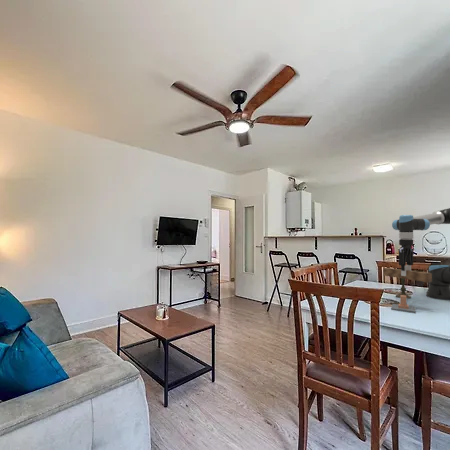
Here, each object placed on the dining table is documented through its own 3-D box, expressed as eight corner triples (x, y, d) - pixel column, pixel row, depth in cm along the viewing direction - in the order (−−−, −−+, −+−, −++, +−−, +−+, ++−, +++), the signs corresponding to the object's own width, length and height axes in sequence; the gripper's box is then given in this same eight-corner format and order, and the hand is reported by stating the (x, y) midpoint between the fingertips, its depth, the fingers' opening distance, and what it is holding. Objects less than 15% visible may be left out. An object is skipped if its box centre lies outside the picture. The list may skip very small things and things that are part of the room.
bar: (383, 275, 181) (383, 268, 181) (387, 275, 183) (387, 267, 184) (427, 282, 158) (427, 273, 158) (431, 281, 161) (431, 273, 161)
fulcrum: (392, 305, 171) (392, 292, 172) (415, 308, 164) (415, 295, 165) (391, 309, 162) (391, 296, 162) (415, 313, 155) (415, 299, 155)
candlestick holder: (413, 299, 187) (412, 256, 188) (399, 298, 189) (398, 255, 190) (407, 296, 196) (406, 255, 197) (393, 295, 198) (393, 254, 199)
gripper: (407, 239, 179) (407, 273, 179) (392, 238, 170) (391, 275, 170) (420, 239, 173) (420, 275, 172) (404, 239, 164) (404, 277, 163)
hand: (406, 275), depth 171 cm, fingers closed on bar, 5 cm apart
